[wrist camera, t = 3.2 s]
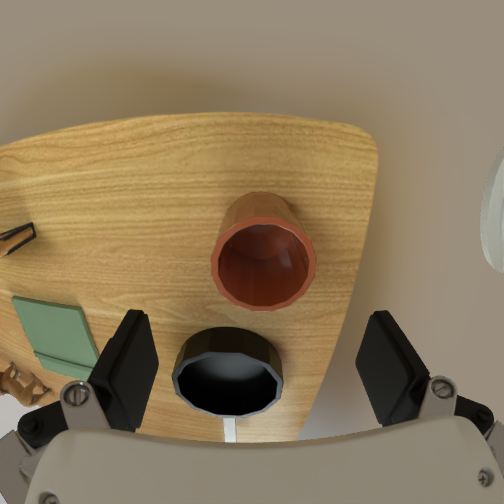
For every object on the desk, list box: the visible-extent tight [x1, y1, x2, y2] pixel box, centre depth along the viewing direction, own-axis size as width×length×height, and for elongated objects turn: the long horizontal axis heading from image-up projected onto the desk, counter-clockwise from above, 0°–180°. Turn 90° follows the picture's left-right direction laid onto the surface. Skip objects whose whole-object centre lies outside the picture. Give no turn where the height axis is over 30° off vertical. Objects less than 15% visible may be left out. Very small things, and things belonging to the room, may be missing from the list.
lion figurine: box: [0, 361, 51, 407], centre depth 31 cm, size 15×5×9 cm, turn 82°
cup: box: [211, 192, 317, 311], centre depth 21 cm, size 6×6×8 cm
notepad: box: [11, 296, 99, 381], centre depth 30 cm, size 14×14×1 cm
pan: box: [172, 327, 283, 443], centre depth 31 cm, size 12×20×4 cm, turn 179°
